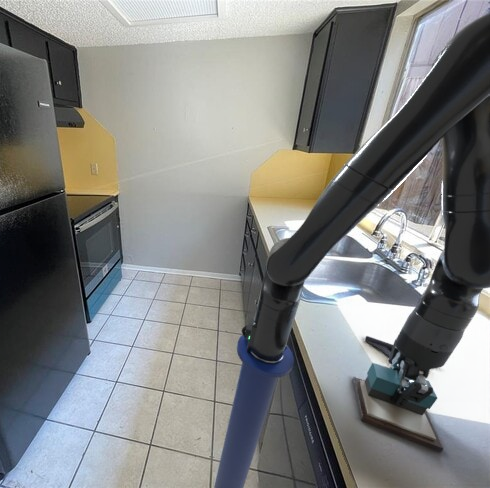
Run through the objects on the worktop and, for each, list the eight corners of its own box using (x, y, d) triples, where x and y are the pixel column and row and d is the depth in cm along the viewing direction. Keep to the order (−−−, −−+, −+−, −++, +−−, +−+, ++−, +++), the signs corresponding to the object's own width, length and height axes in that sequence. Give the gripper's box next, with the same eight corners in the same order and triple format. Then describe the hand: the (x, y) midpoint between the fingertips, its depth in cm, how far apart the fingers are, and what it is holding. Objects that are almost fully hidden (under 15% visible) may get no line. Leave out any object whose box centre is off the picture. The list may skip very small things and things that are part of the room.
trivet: (360, 420, 54) (363, 415, 54) (352, 379, 64) (354, 374, 63) (441, 452, 50) (445, 447, 49) (418, 403, 59) (422, 397, 58)
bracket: (368, 374, 65) (373, 366, 64) (364, 338, 77) (368, 331, 76) (446, 406, 58) (452, 398, 57) (428, 361, 70) (433, 354, 69)
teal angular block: (367, 395, 58) (377, 377, 55) (363, 380, 61) (372, 362, 59) (424, 417, 54) (437, 398, 51) (416, 399, 57) (428, 380, 55)
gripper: (393, 309, 58) (366, 364, 65) (417, 354, 46) (380, 415, 53) (437, 320, 55) (403, 376, 62) (474, 371, 43) (427, 433, 50)
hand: (393, 394), depth 57 cm, fingers closed on teal angular block, 4 cm apart
